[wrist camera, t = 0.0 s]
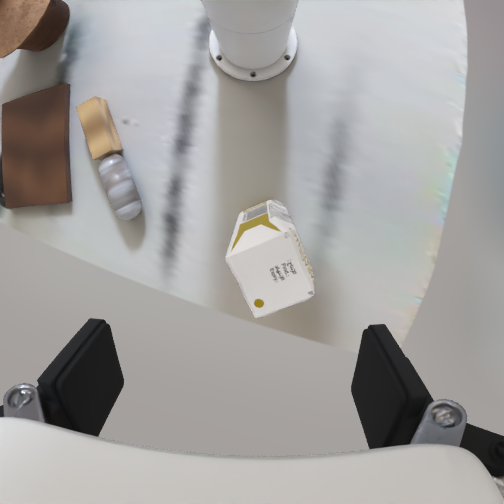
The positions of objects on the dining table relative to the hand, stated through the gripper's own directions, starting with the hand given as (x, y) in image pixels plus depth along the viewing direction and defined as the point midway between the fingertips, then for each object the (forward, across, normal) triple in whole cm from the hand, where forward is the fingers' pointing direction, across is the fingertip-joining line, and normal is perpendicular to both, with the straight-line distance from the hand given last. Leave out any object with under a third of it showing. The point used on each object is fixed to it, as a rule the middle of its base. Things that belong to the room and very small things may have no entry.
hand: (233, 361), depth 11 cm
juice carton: (+37, -2, +4) cm, 37 cm away
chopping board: (+37, +38, -11) cm, 54 cm away
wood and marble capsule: (+37, +21, -7) cm, 43 cm away
